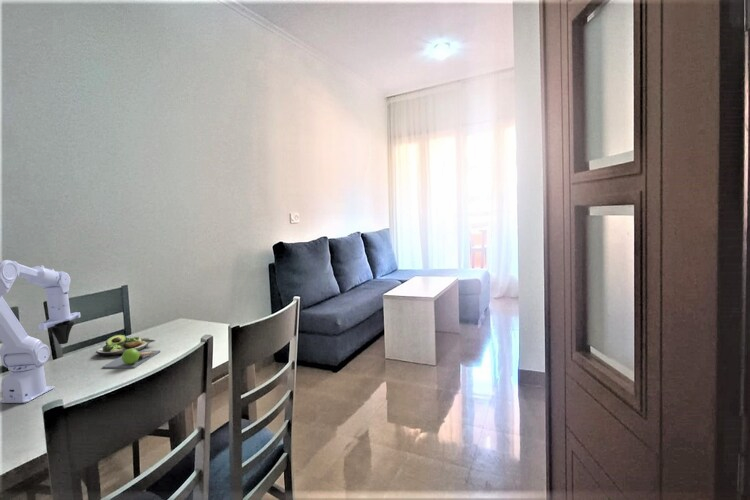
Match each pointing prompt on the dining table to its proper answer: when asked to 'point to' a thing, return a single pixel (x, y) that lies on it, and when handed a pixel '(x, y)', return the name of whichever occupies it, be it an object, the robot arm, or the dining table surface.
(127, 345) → the salad plate
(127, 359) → the snail figurine
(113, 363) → the slate mat
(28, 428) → the dining table surface
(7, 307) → the robot arm
